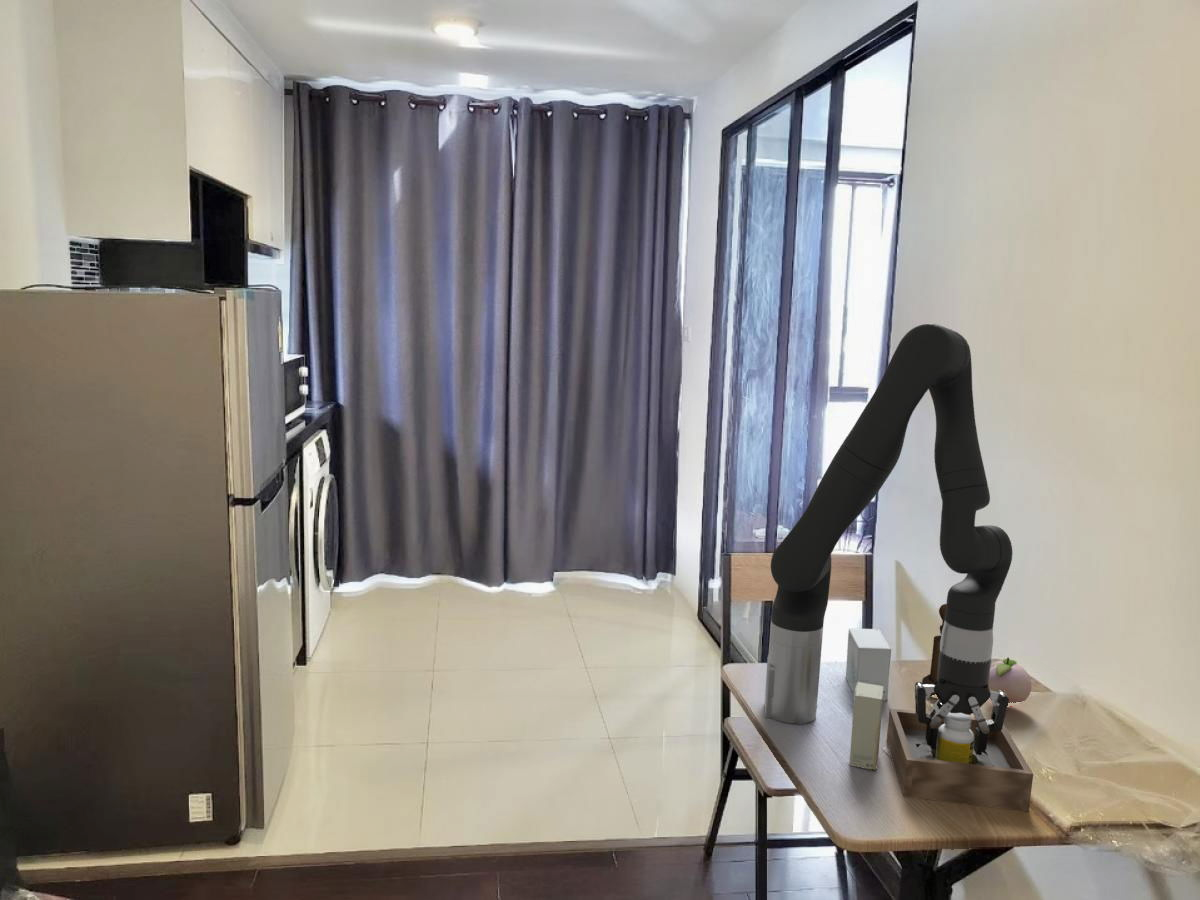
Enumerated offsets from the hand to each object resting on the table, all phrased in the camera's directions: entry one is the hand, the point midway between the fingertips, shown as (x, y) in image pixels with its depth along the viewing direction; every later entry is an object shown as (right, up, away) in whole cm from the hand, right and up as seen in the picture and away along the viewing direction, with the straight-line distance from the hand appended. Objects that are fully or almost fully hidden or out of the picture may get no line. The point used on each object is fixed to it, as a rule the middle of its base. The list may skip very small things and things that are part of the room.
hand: (955, 749), depth 143 cm
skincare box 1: (-5, +1, +33) cm, 33 cm away
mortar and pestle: (+9, 0, +31) cm, 33 cm away
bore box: (0, -4, +1) cm, 4 cm away
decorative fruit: (+19, -1, +26) cm, 32 cm away
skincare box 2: (-13, -3, +4) cm, 14 cm away
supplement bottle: (0, -4, +1) cm, 4 cm away
